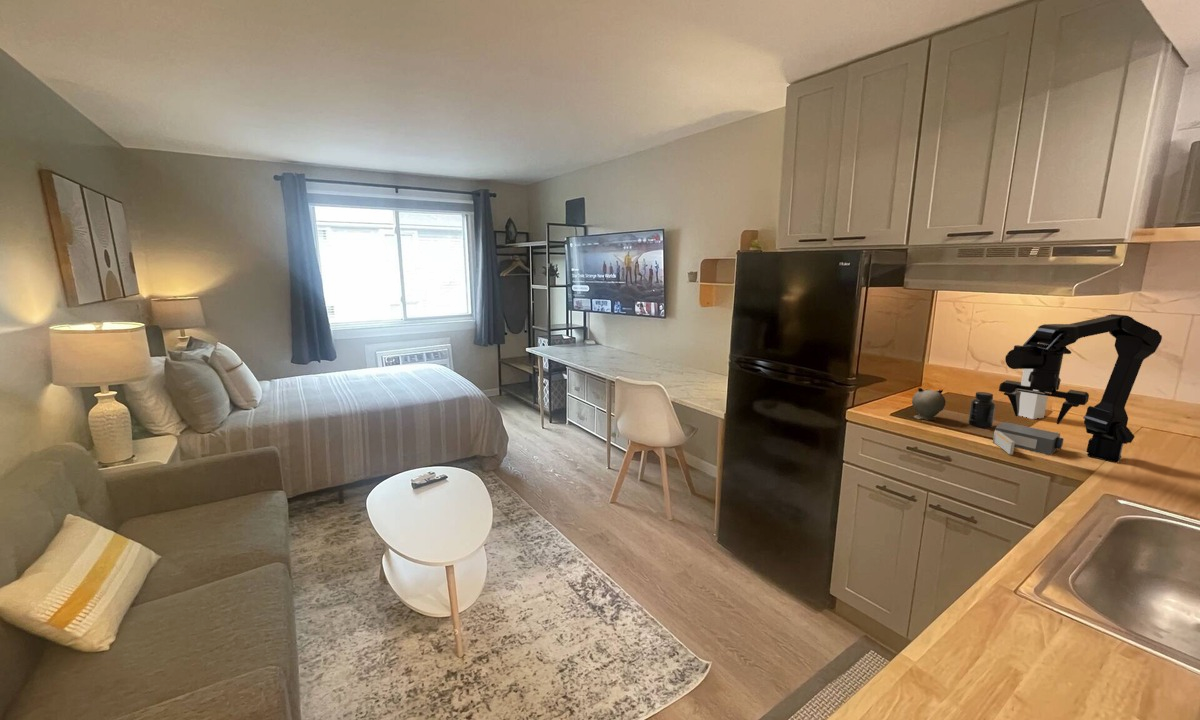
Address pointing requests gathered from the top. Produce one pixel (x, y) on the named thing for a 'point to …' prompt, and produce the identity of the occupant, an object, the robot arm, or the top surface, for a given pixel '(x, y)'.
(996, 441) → the side door
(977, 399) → the supplement bottle
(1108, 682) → the top surface
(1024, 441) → the grey rectangular box
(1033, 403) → the milk
